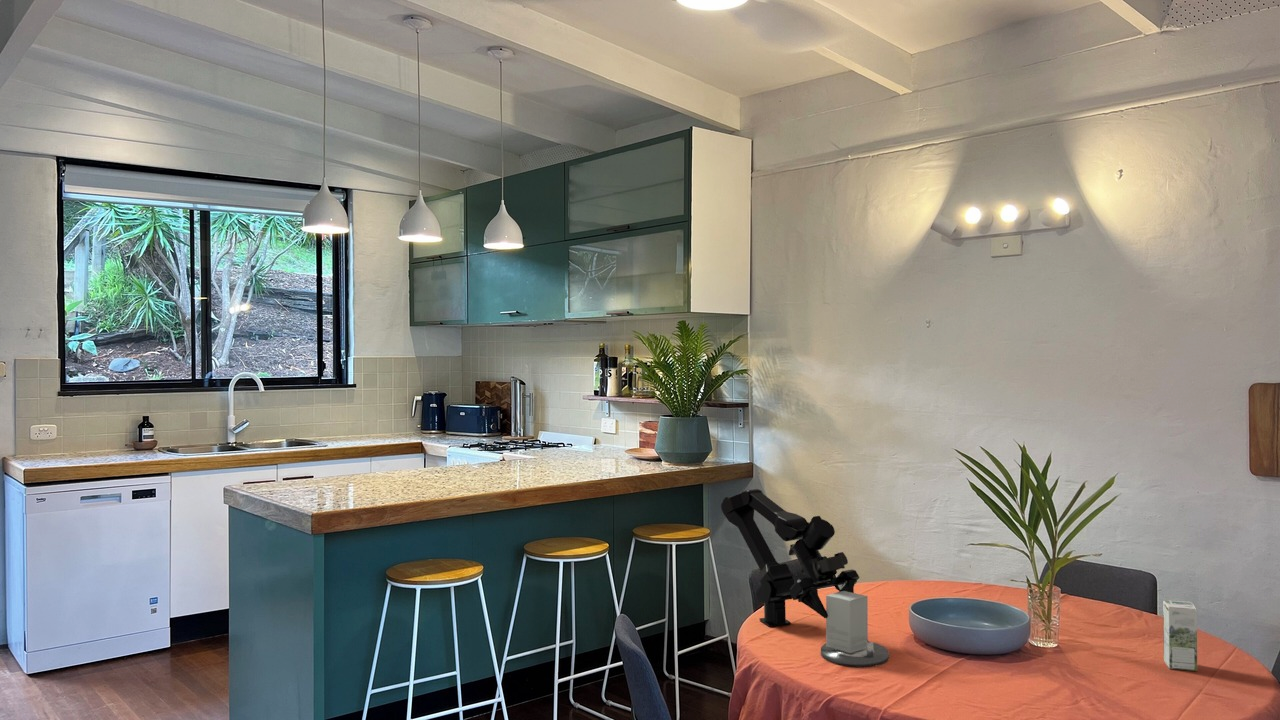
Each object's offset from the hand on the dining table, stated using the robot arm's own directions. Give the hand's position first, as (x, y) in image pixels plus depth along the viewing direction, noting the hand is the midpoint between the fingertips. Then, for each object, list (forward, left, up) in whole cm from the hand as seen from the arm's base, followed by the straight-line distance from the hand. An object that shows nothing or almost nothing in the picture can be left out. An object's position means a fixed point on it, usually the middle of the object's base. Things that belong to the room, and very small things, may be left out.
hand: (841, 614), depth 221 cm
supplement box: (+3, 0, -8) cm, 8 cm away
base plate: (+4, +1, -9) cm, 10 cm away
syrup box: (+38, +65, -9) cm, 76 cm away
